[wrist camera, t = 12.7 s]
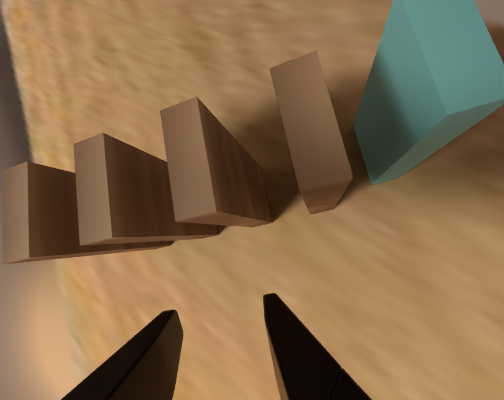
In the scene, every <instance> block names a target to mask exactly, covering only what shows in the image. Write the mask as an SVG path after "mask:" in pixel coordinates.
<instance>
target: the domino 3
mask: <svg viewBox="0 0 504 400" xmlns="http://www.w3.org/2000/svg"><path fill="white" fill-rule="evenodd" d="M160 113H161V120H162V127H163V135H164V142H165V149H166V156H167V164H168V171H169V178H170V185H171V193H172V200H173V207H174V215H175V222H187V223H201V224H215V225H228V226H242V227H256V226H260V225H265V224H269V223H273V222H272V218H271V213H270V208H269V204H268V199H267V194H266V190H265V185H264V181H263V176H262V171H261V167H260V166H259V165H258V164H257V163H256V161H255V160H254V159H253V158H252V157H251V156H250V155H249V154H248V153H247V152H246V150H245V149H244V148H243V147H242V146H241V145H240V144H239V143H238V142H237V141H236V139H235V138H234V137H233V136H232V135H231V134H230V133H229V132H228V131H227V130H226V128H225V127H224V126H223V125H222V124H221V123H220V122H219V121H218V120H217V118H216V117H215V116H214V115H213V114H212V113H211V112H210V111H209V110H208V109H207V107H206V106H205V105H204V104H203V103H202V102H201V101H200V100H199V99H198V98H197V97H195V98H192V99H189V100H187V101H184V102H182V103H179V104H176V105H174V106H171V107H169V108H166V109H163V110H161V111H160Z"/></svg>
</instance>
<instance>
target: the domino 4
mask: <svg viewBox="0 0 504 400" xmlns="http://www.w3.org/2000/svg"><path fill="white" fill-rule="evenodd" d="M270 72H271V77H272V81H273V85H274V89H275V93H276V97H277V101H278V105H279V109H280V114H281V118H282V122H283V126H284V130H285V134H286V138H287V142H288V146H289V151H290V155H291V159H292V163H293V167H294V171H295V175H296V179H297V183H298V187H299V191H300V193H301V195H302V198H303V200H304V202H305V204H306V206H307V208H308V210H309V213H310V214H314V213H319V212H323V211H328V210H332V209H334V207H335V206H336V204H337V203H338V201H339V199H340V198H341V196H342V195H343V193H344V191H345V190H346V188H347V186H348V185H349V183H350V182H351V180H352V178H353V175H352V171H351V168H350V164H349V161H348V158H347V154H346V151H345V147H344V144H343V140H342V137H341V134H340V130H339V127H338V123H337V120H336V116H335V113H334V110H333V106H332V103H331V99H330V96H329V92H328V89H327V86H326V82H325V79H324V75H323V72H322V68H321V65H320V62H319V58H318V55H317V51H314V52H312V53H309V54H306V55H304V56H301V57H298V58H296V59H293V60H291V61H288V62H285V63H283V64H280V65H278V66H275V67H272V68H270Z"/></svg>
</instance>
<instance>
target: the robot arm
mask: <svg viewBox="0 0 504 400" xmlns="http://www.w3.org/2000/svg"><path fill="white" fill-rule="evenodd" d="M263 304H264V319H265V325H266V330H267V335H268V340H269V346H270V351H271V356H272V361H273V366H274V371H275V376H276V381H277V385H278V389H279V393H280V397H281V400H372V399H371V398H370V397H369V396H368V395H367V394H366V393H365V392H364V391H363V390H362V389H361V388H360V386H359V385H358V384H357V383H356V382H355V381H354V380H353V379H352V378H351V377H350V376H349V374H348V373H347V372H346V371H345V370H344V369H343V368H341V366H340V365H339V363H338V362H337V361H336V360H335V359H334V358H333V357H332V356H331V355H330V353H329V352H328V351H327V350H326V349H325V348H324V347H323V346H322V344H321V343H320V342H319V341H318V340H317V339H316V338H315V337H314V336H313V334H312V333H311V332H310V331H309V330H308V329H307V328H306V327H305V325H304V324H303V323H302V322H301V321H300V320H299V319H298V318H297V317H296V315H295V314H294V313H293V312H292V311H291V310H290V309H289V308H288V306H287V305H286V304H285V303H284V302H283V301H282V300H281V299H280V298H279V296H278V295H277V294H276V293H271V294H265V295H264V296H263ZM182 341H183V329H182V326H181V322H180V319H179V316H178V313H177V311H176V310H168V311H163V312H162V313H160V314H159V315H158V316H157V317H156V318H155V319H153V320H152V321H151V322H150V323H149V324H148V325H147V326H145V327H144V328H143V329H142V330H141V331H140V332H138V333H137V334H136V335H135V336H134V337H133V338H132V339H130V340H129V341H128V342H127V343H126V344H125V345H123V346H122V347H121V348H120V349H119V350H118V351H117V352H115V353H114V354H113V355H112V356H111V357H110V358H108V359H107V360H106V361H105V362H104V363H103V364H102V365H100V366H99V367H98V368H97V369H96V370H95V371H93V372H92V373H91V374H90V375H89V376H88V377H87V378H85V379H84V380H83V381H82V382H81V383H80V384H78V385H77V386H76V387H75V388H74V389H73V390H72V391H71V392H69V393H68V394H67V395H66V396H65V397H63V398H62V399H61V400H172V398H173V394H174V390H175V384H176V378H177V372H178V366H179V360H180V354H181V347H182Z"/></svg>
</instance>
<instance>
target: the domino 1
mask: <svg viewBox="0 0 504 400" xmlns="http://www.w3.org/2000/svg"><path fill="white" fill-rule="evenodd" d="M166 246H170V241H153V242H135V243H117V244H99V245H82V246H80V239H79V223H78V206H77V189H76V173H73V172H69V171H64V170H60V169H56V168H52V167H48V166H44V165H40V164H36V163H31V162H25V163H22V164H20V165H17V166H14V167H12V168H9V169H7V170H4V171H3V264H10V263H20V262H30V261H39V260H50V259H60V258H70V257H80V256H90V255H100V254H110V253H120V252H130V251H140V250H150V249H157V248H161V247H166Z"/></svg>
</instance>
